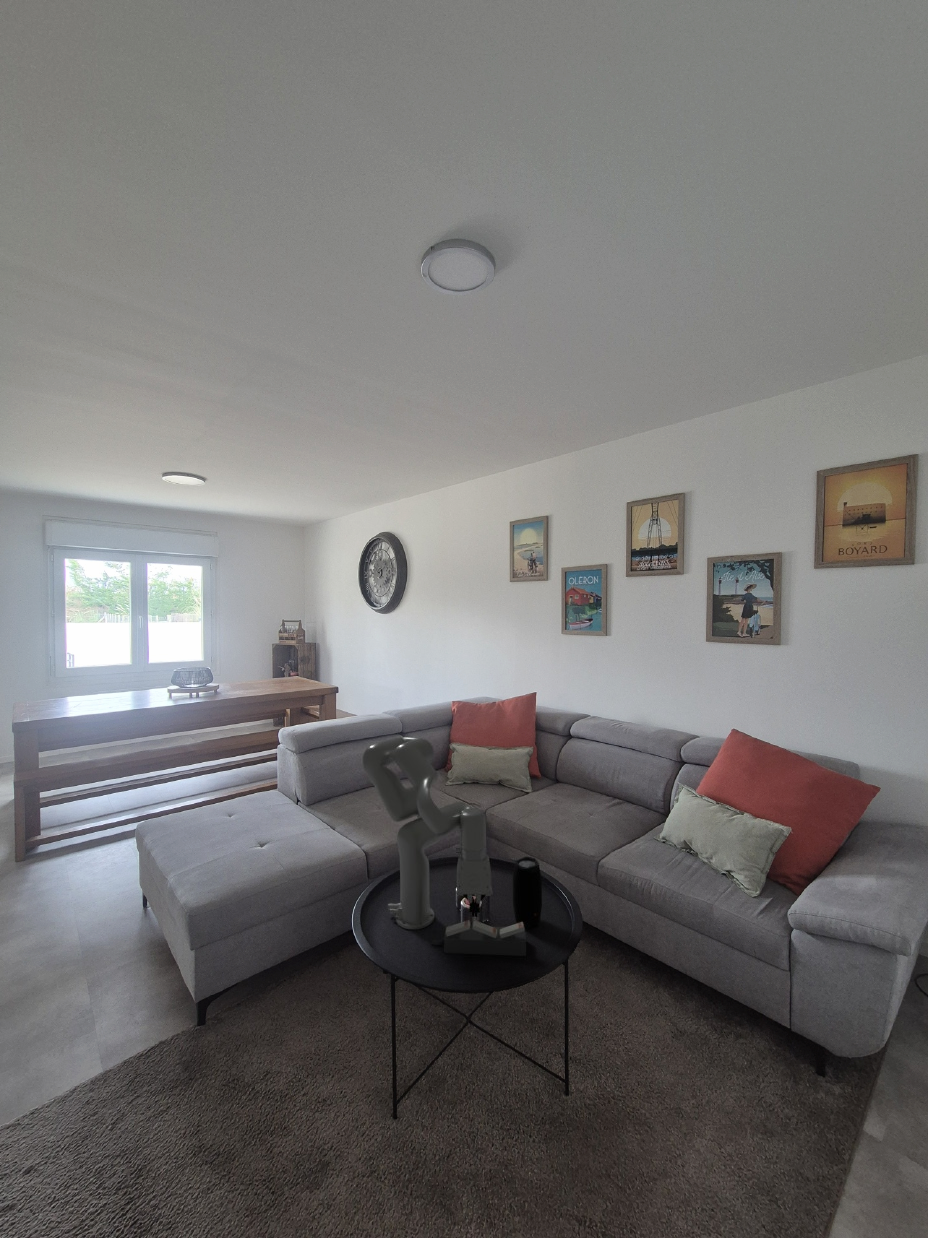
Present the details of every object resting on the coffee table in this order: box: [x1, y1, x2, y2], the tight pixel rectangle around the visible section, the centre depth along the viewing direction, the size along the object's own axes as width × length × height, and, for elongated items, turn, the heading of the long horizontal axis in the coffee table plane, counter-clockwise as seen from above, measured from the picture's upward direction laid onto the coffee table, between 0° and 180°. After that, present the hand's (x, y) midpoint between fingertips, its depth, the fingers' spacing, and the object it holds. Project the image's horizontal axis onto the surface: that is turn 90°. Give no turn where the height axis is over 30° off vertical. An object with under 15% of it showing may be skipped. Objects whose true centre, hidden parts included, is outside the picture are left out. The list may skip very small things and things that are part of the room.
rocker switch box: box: [431, 924, 527, 957], centre depth 150 cm, size 28×7×5 cm, turn 86°
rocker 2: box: [472, 920, 497, 938], centre depth 148 cm, size 7×3×1 cm, turn 85°
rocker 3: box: [500, 922, 524, 938], centre depth 148 cm, size 7×3×1 cm, turn 86°
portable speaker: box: [512, 856, 543, 930], centre depth 162 cm, size 9×9×20 cm
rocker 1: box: [445, 919, 471, 936], centre depth 149 cm, size 7×3×1 cm, turn 86°
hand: (474, 914), depth 148 cm, fingers closed
